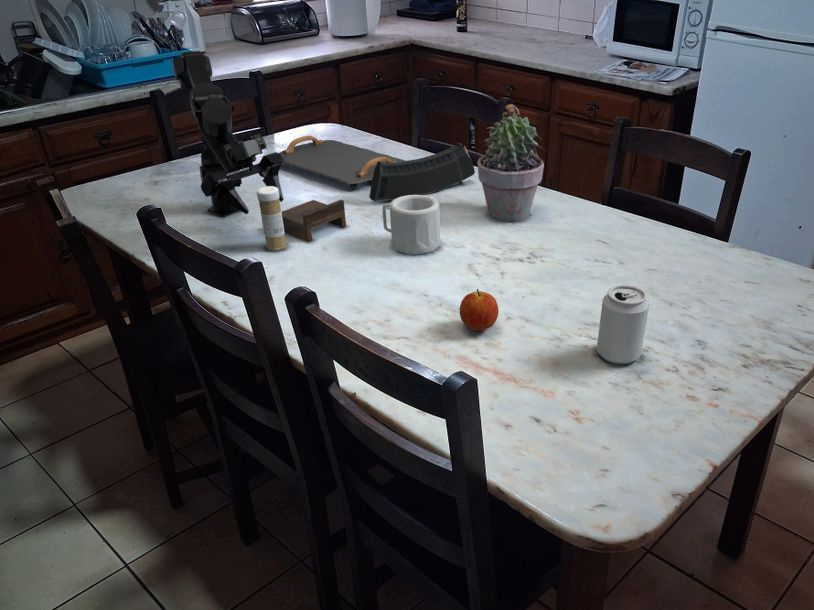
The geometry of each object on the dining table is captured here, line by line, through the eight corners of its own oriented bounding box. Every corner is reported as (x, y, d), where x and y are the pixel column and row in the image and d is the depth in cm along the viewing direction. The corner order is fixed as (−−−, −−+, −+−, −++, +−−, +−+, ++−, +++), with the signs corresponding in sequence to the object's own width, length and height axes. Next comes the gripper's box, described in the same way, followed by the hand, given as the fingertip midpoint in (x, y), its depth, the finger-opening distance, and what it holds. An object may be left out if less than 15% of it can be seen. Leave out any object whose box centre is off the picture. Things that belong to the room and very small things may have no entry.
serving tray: (264, 165, 202) (261, 143, 199) (326, 146, 217) (323, 126, 214) (357, 196, 182) (355, 172, 178) (417, 173, 197) (416, 151, 193)
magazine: (363, 173, 170) (462, 119, 178) (357, 169, 172) (455, 116, 181) (385, 231, 181) (477, 178, 190) (379, 227, 183) (470, 174, 192)
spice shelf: (277, 230, 164) (273, 203, 160) (315, 215, 171) (312, 189, 168) (308, 242, 158) (305, 215, 154) (346, 226, 165) (343, 200, 162)
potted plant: (494, 237, 160) (497, 127, 146) (459, 208, 175) (459, 105, 161) (562, 225, 166) (571, 118, 153) (523, 197, 181) (528, 98, 168)
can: (591, 343, 123) (598, 282, 116) (633, 341, 123) (643, 281, 117) (602, 368, 116) (610, 305, 110) (646, 365, 117) (657, 303, 110)
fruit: (501, 320, 129) (502, 282, 125) (493, 340, 124) (495, 300, 119) (464, 316, 131) (464, 277, 126) (455, 335, 125) (455, 295, 120)
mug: (448, 240, 159) (447, 198, 153) (426, 259, 151) (424, 215, 145) (396, 230, 164) (394, 188, 158) (372, 247, 155) (368, 205, 150)
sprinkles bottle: (284, 241, 158) (275, 184, 151) (289, 249, 155) (280, 190, 147) (264, 245, 156) (254, 187, 149) (268, 253, 153) (258, 194, 146)
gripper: (196, 133, 139) (240, 199, 139) (272, 114, 151) (312, 175, 151) (183, 164, 147) (224, 227, 148) (256, 144, 160) (294, 201, 160)
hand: (265, 206), depth 151 cm, fingers open, 9 cm apart
